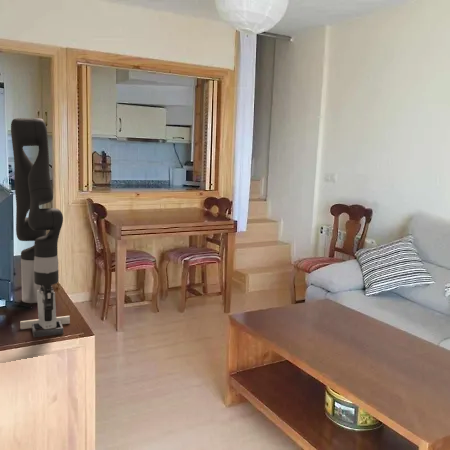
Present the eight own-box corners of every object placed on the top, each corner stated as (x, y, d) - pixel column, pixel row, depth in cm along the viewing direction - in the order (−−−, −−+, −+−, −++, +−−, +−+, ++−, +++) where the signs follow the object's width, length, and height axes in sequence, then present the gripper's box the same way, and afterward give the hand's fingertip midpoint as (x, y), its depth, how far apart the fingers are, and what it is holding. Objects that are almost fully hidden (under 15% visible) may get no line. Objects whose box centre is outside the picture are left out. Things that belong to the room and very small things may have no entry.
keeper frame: (31, 329, 161) (31, 323, 161) (60, 325, 165) (60, 320, 165) (33, 337, 155) (33, 331, 154) (63, 333, 159) (63, 328, 158)
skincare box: (57, 327, 159) (56, 292, 157) (43, 330, 156) (42, 294, 154) (50, 321, 163) (50, 287, 161) (37, 324, 160) (36, 289, 158)
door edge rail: (20, 328, 162) (20, 321, 161) (69, 322, 169) (69, 315, 168) (20, 329, 161) (20, 322, 160) (69, 323, 168) (69, 316, 167)
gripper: (32, 264, 161) (32, 311, 164) (36, 275, 148) (37, 326, 151) (55, 262, 164) (55, 309, 167) (61, 273, 152) (61, 323, 154)
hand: (46, 317), depth 159 cm, fingers closed on skincare box, 6 cm apart
